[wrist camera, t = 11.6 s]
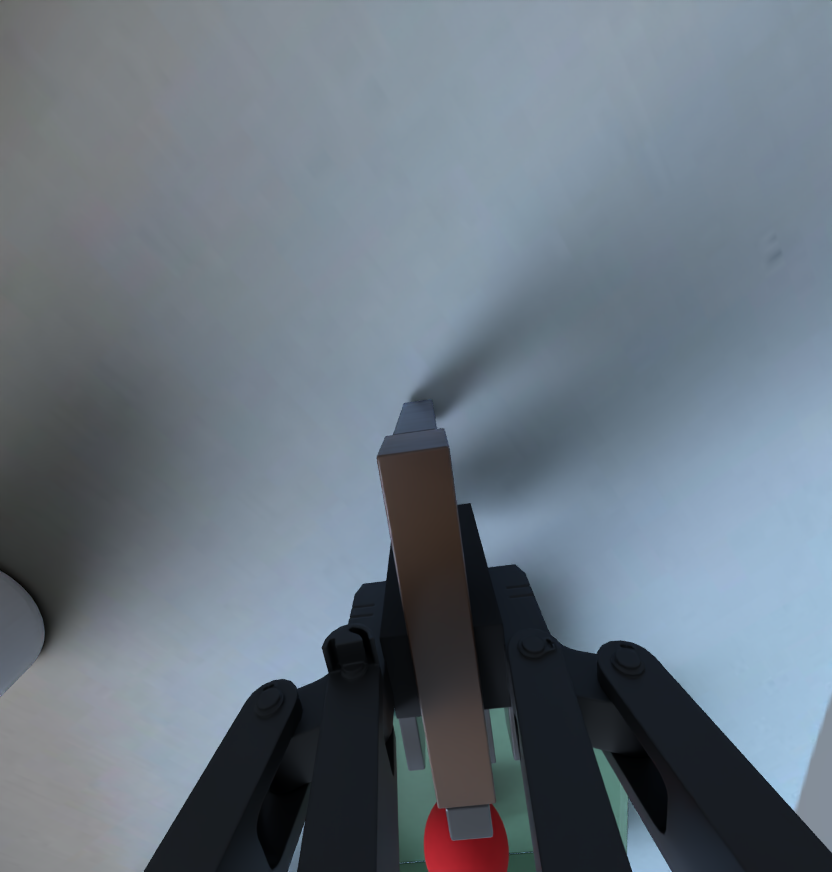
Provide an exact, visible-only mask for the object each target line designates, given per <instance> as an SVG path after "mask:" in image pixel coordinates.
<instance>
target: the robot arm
mask: <svg viewBox="0 0 832 872" xmlns="http://www.w3.org/2000/svg"><path fill="white" fill-rule="evenodd" d="M457 508H458V516H459V523H460V531H461V538H462V546H463V553H464V561H465V568H466V576H467V583H468V591H469V598H470V606H471V614H472V621H473V629H474V636H475V644H476V651H477V659H478V666H479V674H480V681H481V689H482V696H483V704H484V710H487V709H496V708H506V707H513V713H514V723H515V733H516V743H517V748H518V751H519V758H520V765H521V771H522V778H523V785H524V792H525V799H526V805H527V812H528V819H529V826H530V832H531V839H532V846H533V853H534V859H535V866H536V872H632V869H631V866H630V863H629V860H628V857H627V854H626V851H625V847H624V844H623V841H622V838H621V835H620V832H619V829H618V825H617V822H616V819H615V816H614V813H613V810H612V807H611V803H610V800H609V797H608V794H607V791H606V788H605V785H604V781H603V778H602V775H601V772H600V769H599V766H598V763H597V759H596V756H595V753H594V750H593V748H596V749H600V750H602V752H603V754H604V756H605V757H606V759H607V761H608V763H609V764H610V766H611V768H612V769H613V771H614V773H615V775H616V776H617V778H618V780H619V781H620V783H621V785H622V787H623V788H624V790H625V792H626V794H627V795H628V797H629V799H630V800H631V802H632V804H633V806H634V807H635V809H636V811H637V812H638V814H639V816H640V818H641V819H642V821H643V823H644V825H645V826H646V828H647V830H648V831H649V833H650V835H651V837H652V838H653V840H654V842H655V843H656V845H657V847H658V849H659V850H660V852H661V854H662V856H663V857H664V859H665V861H666V862H667V864H668V866H669V868H670V869H671V871H672V872H832V853H831V852H830V851H829V850H828V849H827V847H826V846H825V845H824V844H823V843H822V842H821V841H820V839H819V838H817V836H816V835H815V834H814V833H813V832H812V831H811V830H810V828H809V827H808V826H807V825H806V824H805V823H804V822H803V821H802V820H801V818H800V817H799V816H798V815H797V814H796V813H795V812H794V811H793V810H792V808H791V807H790V806H789V805H788V804H787V803H786V802H785V801H784V800H783V798H782V797H781V796H780V795H779V794H778V793H777V792H776V791H775V790H774V788H773V787H772V786H771V785H770V784H769V783H768V782H767V781H766V780H765V779H764V777H763V776H762V775H761V774H760V773H759V772H758V771H757V770H756V769H755V767H754V766H753V765H752V764H751V763H750V762H749V761H748V760H747V759H746V757H745V756H744V755H743V754H742V753H741V752H740V751H739V750H738V749H737V748H736V746H735V745H734V744H733V743H732V742H731V741H730V740H729V739H728V738H727V736H726V735H725V734H724V733H723V732H722V731H721V730H720V729H719V728H718V726H717V725H716V724H715V723H714V722H713V721H712V720H711V719H710V718H709V717H708V715H707V714H706V713H705V712H704V711H703V710H702V709H701V708H700V707H699V705H698V704H697V703H696V702H695V701H694V700H693V699H692V698H691V697H690V695H689V694H688V693H687V692H686V691H685V690H684V689H683V688H682V687H681V685H680V684H679V683H678V682H677V681H676V680H675V679H674V678H673V677H672V676H671V674H670V673H669V672H668V671H667V670H666V669H665V668H664V667H663V666H662V664H661V663H660V662H659V661H658V660H657V659H656V658H655V657H654V656H653V655H652V654H651V653H650V652H648V651H647V650H646V649H645V648H643V647H641V646H639V645H637V644H634V643H631V642H626V641H621V640H620V641H610V642H608V643H606V644H604V645H602V646H601V647H600V649H599V650H598V652H597V654H594V653H588V652H581V651H577V650H573V649H570V648H568V647H566V646H563V645H562V644H560V643H559V642H558V641H557V640H556V639H555V638H554V637H553V636H552V635H551V634H550V632H549V630H548V628H547V626H546V623H545V621H544V618H543V616H542V613H541V611H540V609H539V606H538V604H537V601H536V599H535V596H534V594H533V591H532V589H531V587H530V584H529V582H528V579H527V577H526V574H525V573H524V572H523V571H522V570H521V569H520V568H519V567H517V566H516V565H515V564H514V565H505V566H497V567H489V568H488V566H487V563H486V559H485V555H484V552H483V548H482V544H481V540H480V537H479V533H478V529H477V526H476V522H475V518H474V514H473V511H472V507H471V503H467V504H460V505H457ZM322 650H323V654H324V657H325V661H326V665H327V668H328V672H329V673H328V674H327V675H326V676H324V677H323V678H321V679H319V680H317V681H315V682H313V683H311V684H308V685H306V686H303V687H301V688H298V689H297V687H296V686H295V685H294V684H293V683H292V682H291V681H289V680H285V679H279V680H273V681H271V682H268V683H266V684H264V685H262V686H261V687H260V688H258V689H257V690H256V691H254V692H253V693H252V695H251V696H250V697H249V698H248V700H247V701H246V702H245V704H244V706H243V707H242V709H241V711H240V712H239V714H238V716H237V717H236V719H235V721H234V722H233V724H232V725H231V727H230V729H229V730H228V732H227V734H226V735H225V737H224V739H223V740H222V742H221V744H220V745H219V747H218V749H217V750H216V752H215V754H214V755H213V757H212V759H211V760H210V762H209V764H208V765H207V767H206V769H205V770H204V772H203V774H202V775H201V777H200V779H199V780H198V782H197V784H196V785H195V787H194V789H193V790H192V792H191V794H190V795H189V797H188V799H187V800H186V802H185V804H184V805H183V807H182V809H181V810H180V812H179V814H178V815H177V817H176V819H175V820H174V822H173V824H172V825H171V827H170V829H169V830H168V832H167V834H166V835H165V837H164V839H163V840H162V842H161V844H160V845H159V847H158V849H157V850H156V852H155V854H154V855H153V857H152V859H151V860H150V862H149V864H148V865H147V867H146V869H145V870H144V872H287V871H288V868H289V865H290V863H291V860H292V857H293V854H294V851H295V848H296V845H297V842H298V840H299V837H300V834H301V831H302V828H303V825H304V822H305V826H304V832H303V838H302V844H301V851H300V857H299V863H298V870H297V872H400V866H399V828H398V790H397V752H396V736H395V731H394V727H393V718H394V708H395V713H396V718H397V719H401V718H410V717H420V716H422V715H421V710H420V704H419V698H418V692H417V687H416V681H415V675H414V669H413V664H412V658H411V652H410V647H409V641H408V635H407V629H406V624H405V618H404V612H403V607H402V601H401V595H400V589H399V584H398V578H397V572H396V566H395V561H394V555H393V549H392V544H391V546H390V554H389V563H388V571H387V579H386V581H383V582H374V583H366V584H363V585H362V586H361V587H360V589H359V590H358V591H357V593H356V594H355V596H354V601H353V605H352V609H351V614H350V619H349V623H348V625H344V626H341V627H339V628H338V629H336V630H335V631H333V632H332V633H331V634H330V635H329V636H328V637H327V638H326V639H325V641H324V644H323V646H322ZM511 703H512V706H511Z"/></svg>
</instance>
